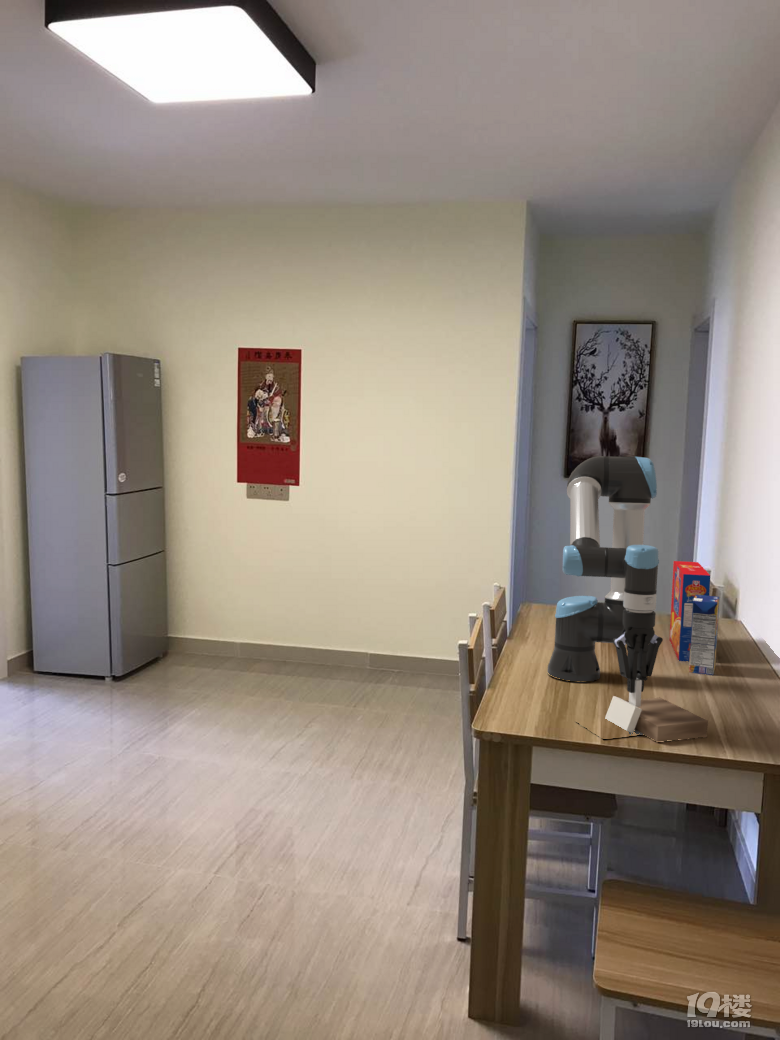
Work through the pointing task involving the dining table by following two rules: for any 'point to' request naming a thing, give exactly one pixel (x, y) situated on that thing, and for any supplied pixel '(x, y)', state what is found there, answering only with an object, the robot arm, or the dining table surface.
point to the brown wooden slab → (669, 721)
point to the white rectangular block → (623, 714)
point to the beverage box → (704, 634)
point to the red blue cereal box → (685, 603)
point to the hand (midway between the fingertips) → (634, 704)
